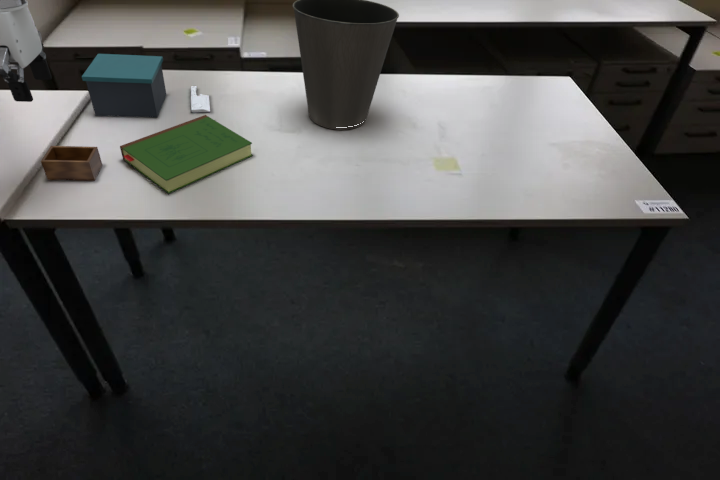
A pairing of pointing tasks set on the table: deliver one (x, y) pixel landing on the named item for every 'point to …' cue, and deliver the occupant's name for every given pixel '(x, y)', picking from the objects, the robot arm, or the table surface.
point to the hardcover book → (186, 152)
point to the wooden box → (72, 163)
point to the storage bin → (126, 85)
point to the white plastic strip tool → (199, 101)
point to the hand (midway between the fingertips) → (34, 89)
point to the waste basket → (342, 57)
